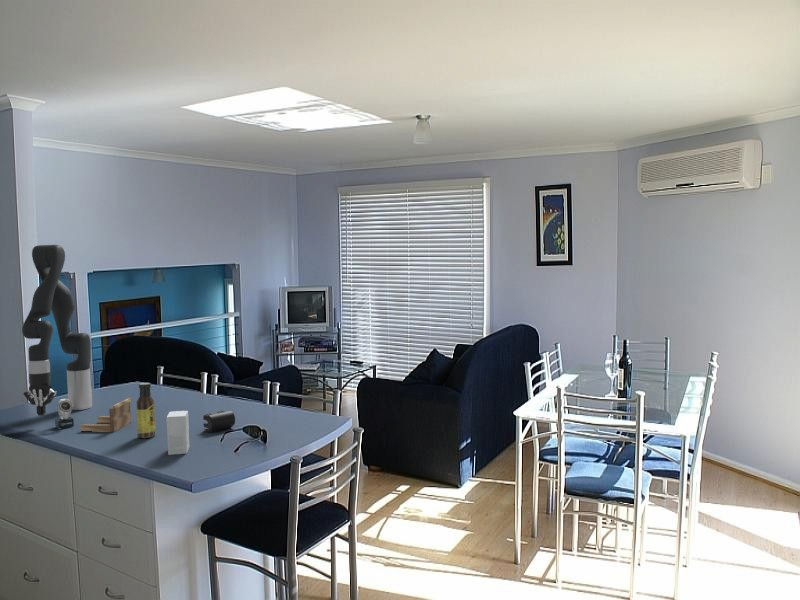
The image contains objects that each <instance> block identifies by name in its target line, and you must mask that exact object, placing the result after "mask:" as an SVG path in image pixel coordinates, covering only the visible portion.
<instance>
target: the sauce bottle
mask: <svg viewBox="0 0 800 600" xmlns="http://www.w3.org/2000/svg"><path fill="white" fill-rule="evenodd" d="M151 386H152V384H151V383H150V382H141V383H139V384H138V388H139V397H138V399H137V401H136V430H137V437H138V438H139V439H148V438H149V439H150V438H153V437H155V436H156V411H155V406H156V405H155V400H154V399H153V398H152V395H151Z"/></svg>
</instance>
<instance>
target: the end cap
mask: <svg viewBox="0 0 800 600" xmlns="http://www.w3.org/2000/svg"><path fill="white" fill-rule="evenodd" d="M203 420H204V421H206V422H203V423H202V424H203V427H204V432H206V433H216V432H219V431H223V430H226V429H227V430H228V429H232V427H234V425H235V424H236V417H235V414H234V412H233V411H232V410H227V411H225V410H221V411H217V412H216V413H210V412H209V413H207V414H206V413H205V414H203Z"/></svg>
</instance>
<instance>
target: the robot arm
mask: <svg viewBox="0 0 800 600" xmlns="http://www.w3.org/2000/svg"><path fill="white" fill-rule="evenodd" d="M31 257H32V262H33V265H34V267H35V269H36V271H37V274H38V276H39V278H40V280H41V283H39V285H38V286H37V288H36V290H34V293H33V297H32V301H31V307H30V310H29V312H28V315H27V317H26V319H25V320H24V322H23V324H22V327H21V332H22V336H24V338H25V339H29V340H31V339H32V340H35V339H36V340H37V339H38V340H39V339H40V341H39V342H38V343H36V344H33V345H30V346H29V347H28V368H27V369H28V384H29V386H28V390H26V391H24V392H23V396H24V397H25V398H26V400H28V402H29V403H30V404H31V405H32V406H33V405H34V406H36V415H37V416H39V417H41V416H45V414H46V413H47V412H46V411H47V407H46V406H47V405H49V404H51V402H52V401H53V399H54V398H55V397H56V395H57V394H58V391H57V390H55V391H54V390H53V389H52V385H51V382H52V379H51V377H52V375H51V363H50V351H49V350H50V346H51V345H50V343H51V340H52V336H53V332H54V326H53V324H52V322H50V321H49V320H40V319H42V318H45V317H48V316H50V315H51V313H52V315H53V318H54V323H55V326H56V330H57V335H58V340H59V343H60V347H61V349H62V351H63V353H64V354H67V355H68V354H69V355H77V358H76V359H75V360H73V361H69V362H68V363H67V364H66V380H67V382H66V383H67V400H69V401H70V402H71V403H72V405H73V407H72V410H71V411H81V410H82V411H83V410H87V409H91V408H92V407H93V392H92V389H93V388H92V384H91V383H92V382H91V359H92V358H91V357H92V356H91V355H92V354H91V353H92V352H91V351H92V350H91V349H92V343H91V341H92V340H91V336H90V335H89V334H88V333H86V332H72V331H71V328H70V327H71V326H70V321H71V318H72V316H73V314H74V312H75V307H76V305H75V301H74V298H73V295H72V294H73V293H72V292H71V290H70V289H69V287H67V286H66V285H65V284H64V282H62V281H61V280H60V277H61V273H62V271H63V268H64V265H65V261H66V253H65V250H64V248H63V246H62V245H59V244H40V245H35V246H34V247H32V250H31Z"/></svg>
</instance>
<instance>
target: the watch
mask: <svg viewBox="0 0 800 600" xmlns="http://www.w3.org/2000/svg"><path fill="white" fill-rule="evenodd" d="M72 407H73V405H72V403H71V402H70V401H69V400H68V398H61V399H58V401H57V412H58V417H59V418H55V420H54V424H55V426H56V427H57V428H56V427H55V426H54V427H55V428H56V429H58V428H63V429H65V428H64V427H68V428H71V427H70V426H75V425H74V424H75V423H74V418H73V417H71V413H72V411H73V410H72Z"/></svg>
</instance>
